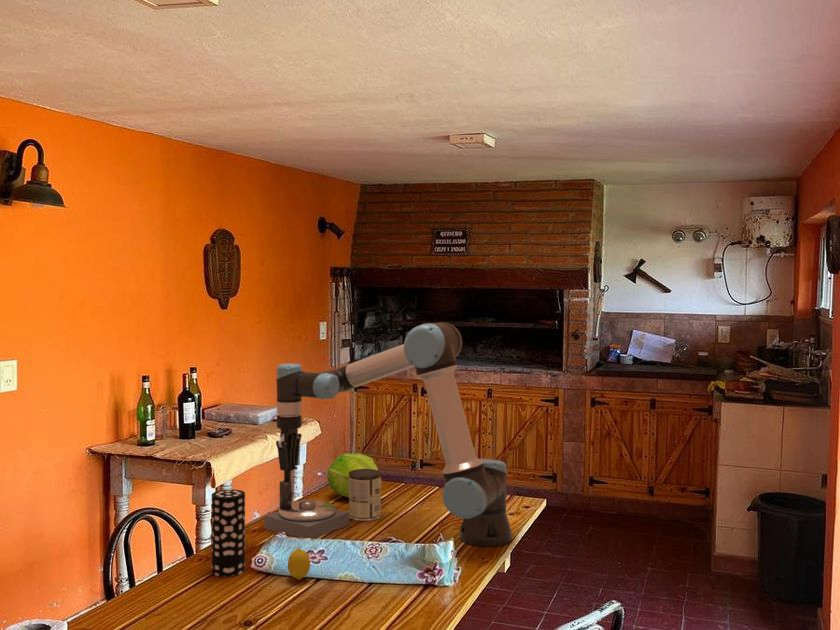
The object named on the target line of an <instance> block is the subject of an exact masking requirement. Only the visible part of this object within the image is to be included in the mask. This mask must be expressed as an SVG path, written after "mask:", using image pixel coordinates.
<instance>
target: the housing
mask: <svg viewBox="0 0 840 630" xmlns="http://www.w3.org/2000/svg"><path fill="white" fill-rule="evenodd" d="M263 516H264V520H263V521H264V522H263V523H264V526H263V527H264V528H263V529H264V530H267V531H272V532H275V533H279V532H285V533H286V534H287V536H290V537H294V536H295V538H298V537H303V538H314V539H316V538H319V537H321V536H320V535H322V534H324V535H326V534H325V533H327V534H329V533H328V532H330V533H331V531H332V532H334V531H333V530H335V531H337V530H336V529H338V530H340V529H342V527H343V528H345V527H348V526H350V518H349V511H346V510H342V509H341V510H340V509H336V508H335V514H334V515H333V516H332V517H329V518H326V519H322V520H317V521H292V520H287V519H284V518H282V517H280V516H279V510H277V511H274V512H271V513H269V514H265V515H263ZM347 525H348V526H347ZM339 528H340V529H339ZM286 534H285V535H286ZM318 536H319V537H318ZM322 536H323V535H322ZM315 537H316V538H315Z"/></svg>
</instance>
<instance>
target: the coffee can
mask: <svg viewBox="0 0 840 630" xmlns="http://www.w3.org/2000/svg"><path fill="white" fill-rule="evenodd" d="M381 481H382V471H380V470H379V469H378V470H375V469H357V470H352V471H350V472H349V498H348V512H349V519H351V520H353V519H354V521H358V520H359V521H360V522H367V521H375V520H378V519H380V518H381V517H382V514H381V513H382V512H381V510H382V508H381V507H382V504H381V503H382V501H381V497H382V494H381V492H382V491H381V490H382V484H381ZM359 521H358V522H359Z"/></svg>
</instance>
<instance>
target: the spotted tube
mask: <svg viewBox="0 0 840 630" xmlns="http://www.w3.org/2000/svg"><path fill="white" fill-rule="evenodd" d="M245 571H246V492H245V491H243V490H240V489H222V490H216V491H214V492H212V493H211V573H212V574H213V575H214V576H217V577H234V576H239V575H241V574H243V573H244V572H245Z"/></svg>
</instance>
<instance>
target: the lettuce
mask: <svg viewBox="0 0 840 630" xmlns="http://www.w3.org/2000/svg"><path fill="white" fill-rule="evenodd" d="M357 469H375V470H379V469H378V466H377V464H375V461H374V459H373V457H370V456H368V455H365V454H363V453H359V452H358V453H357V452H356V453H350V452H345V453H342V454H340V455H338V456H337V457H336V458H335V460H334V461H333V462H332V464H331V465H330V466H329V467H328V470H327V475H326V478H327V481H328V484H329V486H330V488H331V489H332V491H334V492H335V493H336V494H338V495H339V496H342V497H345V498H348V499H349V472H350V471H352V470H357ZM382 482H383V481H382V480H381V485H382Z"/></svg>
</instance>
